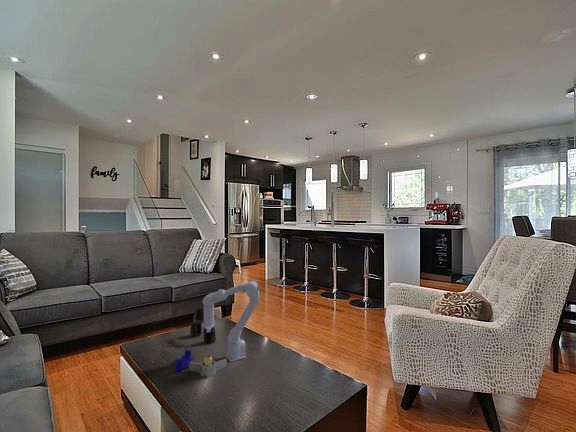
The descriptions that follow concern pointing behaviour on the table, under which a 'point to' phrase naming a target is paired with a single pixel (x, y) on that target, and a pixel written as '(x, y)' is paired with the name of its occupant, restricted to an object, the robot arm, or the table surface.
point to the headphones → (199, 327)
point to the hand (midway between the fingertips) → (208, 340)
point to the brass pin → (207, 360)
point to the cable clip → (183, 361)
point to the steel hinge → (208, 367)
